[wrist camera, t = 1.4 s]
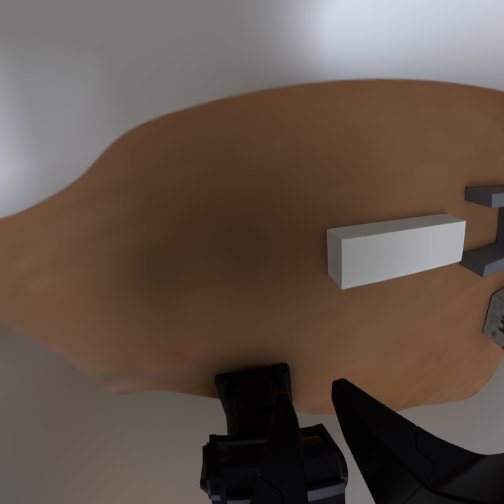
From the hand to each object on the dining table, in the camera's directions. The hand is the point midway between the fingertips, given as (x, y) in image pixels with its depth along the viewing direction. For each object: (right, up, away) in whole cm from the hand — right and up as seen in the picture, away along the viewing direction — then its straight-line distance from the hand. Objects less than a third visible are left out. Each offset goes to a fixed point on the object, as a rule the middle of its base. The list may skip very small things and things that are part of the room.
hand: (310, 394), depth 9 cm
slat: (+9, +6, +12) cm, 17 cm away
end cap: (+22, +8, +13) cm, 26 cm away
